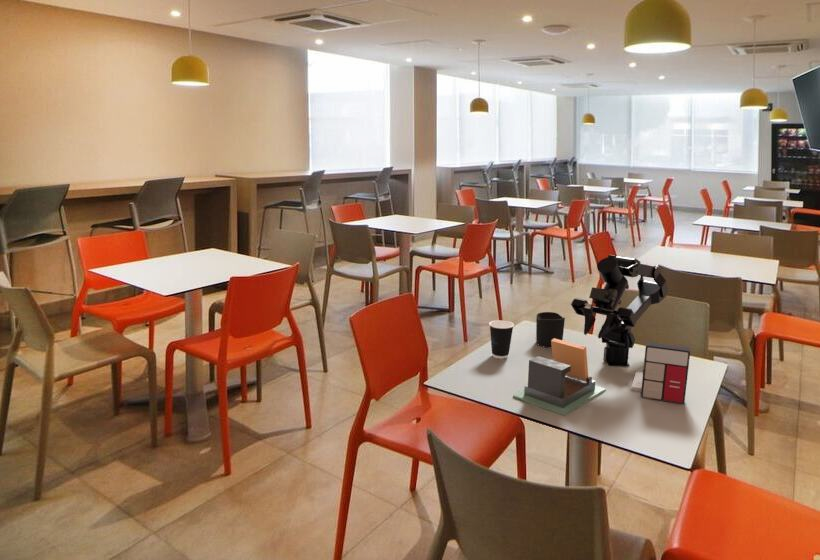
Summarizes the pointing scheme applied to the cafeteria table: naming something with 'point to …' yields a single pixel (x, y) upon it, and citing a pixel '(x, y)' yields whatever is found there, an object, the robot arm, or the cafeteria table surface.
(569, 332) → the cafeteria table surface
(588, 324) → the robot arm
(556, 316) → the pen holder
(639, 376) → the external hard drive
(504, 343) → the dixie cup
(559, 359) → the orange upright panel
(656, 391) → the panelled box
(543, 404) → the green flat slab
